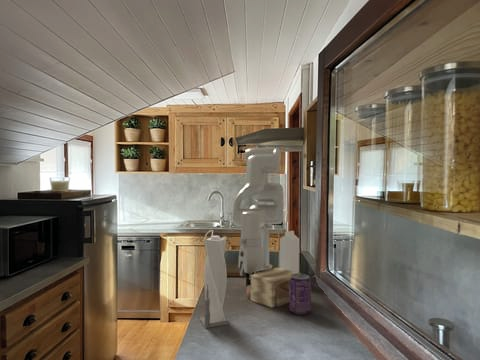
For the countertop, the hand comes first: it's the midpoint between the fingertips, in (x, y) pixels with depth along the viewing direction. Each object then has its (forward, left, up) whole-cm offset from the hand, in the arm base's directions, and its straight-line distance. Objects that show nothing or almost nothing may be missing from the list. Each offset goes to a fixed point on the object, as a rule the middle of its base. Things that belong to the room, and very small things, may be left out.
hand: (250, 288), depth 136 cm
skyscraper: (+12, -29, -1) cm, 31 cm away
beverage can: (+27, -4, -1) cm, 27 cm away
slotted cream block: (+13, 0, -1) cm, 13 cm away
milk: (+5, +20, -1) cm, 20 cm away
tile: (+10, 0, -1) cm, 10 cm away
